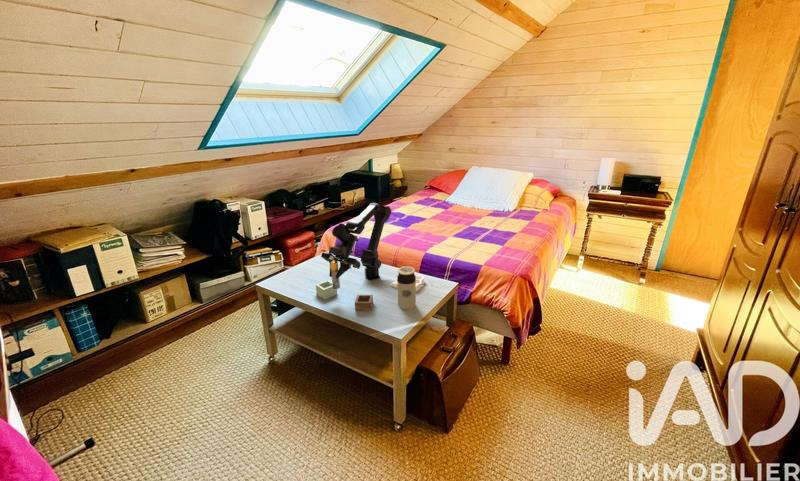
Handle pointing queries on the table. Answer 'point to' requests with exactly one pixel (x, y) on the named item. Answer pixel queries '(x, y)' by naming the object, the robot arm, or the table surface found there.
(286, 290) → the table surface
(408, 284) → the travel mug
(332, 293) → the cream square hollow block
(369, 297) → the brown square open box
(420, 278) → the knuckle duster
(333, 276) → the gold and grey cylinder
